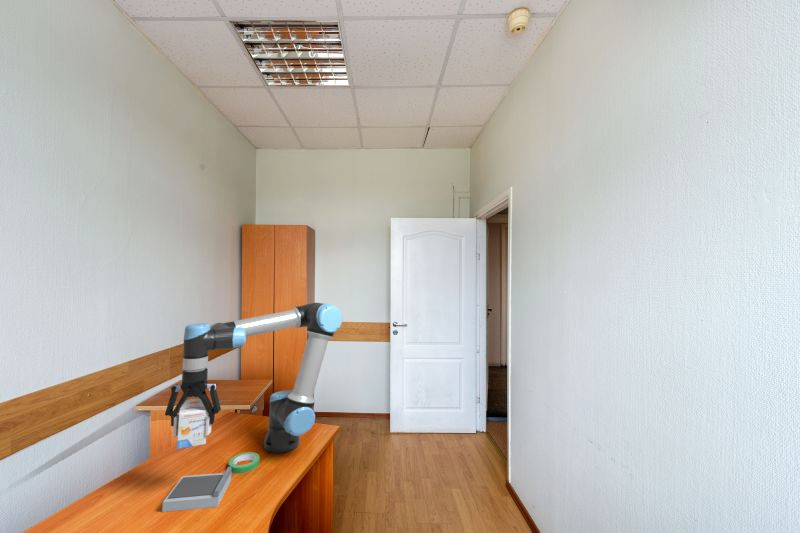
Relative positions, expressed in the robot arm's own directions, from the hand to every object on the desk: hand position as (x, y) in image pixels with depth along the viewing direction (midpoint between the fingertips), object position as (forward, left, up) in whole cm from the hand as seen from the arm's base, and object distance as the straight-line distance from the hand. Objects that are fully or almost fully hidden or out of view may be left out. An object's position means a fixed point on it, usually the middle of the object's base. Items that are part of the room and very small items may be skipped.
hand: (192, 434), depth 115 cm
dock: (-4, +2, -19) cm, 20 cm away
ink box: (0, 0, -3) cm, 3 cm away
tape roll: (-14, -15, -20) cm, 28 cm away
